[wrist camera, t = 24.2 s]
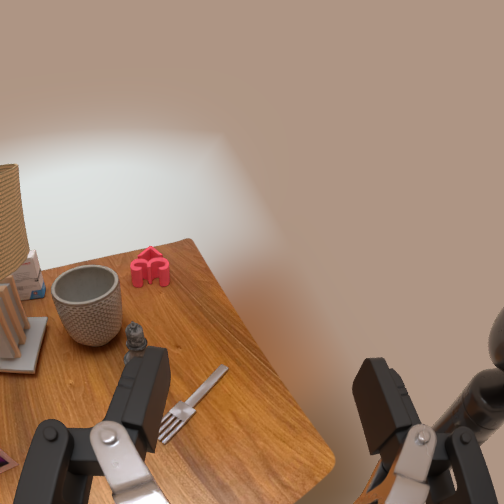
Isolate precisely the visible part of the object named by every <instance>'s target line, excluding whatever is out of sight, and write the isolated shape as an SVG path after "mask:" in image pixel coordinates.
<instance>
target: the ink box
mask: <svg viewBox="0 0 504 504" xmlns="http://www.w3.org/2000/svg"><path fill="white" fill-rule="evenodd" d="M11 275H13V278H14V281H15V284H16V287H17V291H18V294H19V297H20V300H29V299H37V298H44V295H45V290H46V287H45V284H44V280H43V277H42V273H41V269H40V265H39V262H38V258H37V254H36V250H30V251H29V254H28V257H27V260H26V261H25V262H24V263H23V264H22V265H21V266H20V267H19V268H18V269H17V270H16V271H15V272H14V273H12V274H11Z"/></svg>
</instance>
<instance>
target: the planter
mask: <svg viewBox="0 0 504 504" xmlns="http://www.w3.org/2000/svg"><path fill="white" fill-rule="evenodd" d="M51 294H52V298H53V301H54V304H55V306H56V309H57V312H58V314H59V317H60V319H61V321H62V323H63V325H64V327H65V329H66V331H67V332H68V334H69V335H70V336H71V338H73V339H74V340H75V341H76V342H78V343H80V344H83V345H88V346H93V347H99V346H103V345H105V344H107V343H108V342H109V341H110V340H111V339H113V338H114V337H115V336H116V335H117V333H118V332H119V330H120V328H121V325H122V299H121V288H120V281H119V278H118V275H117V273H116V272H115V271H113V270H112V269H110V268H108V267H105V266H101V265H84V266H79V267H75V268H72V269H70V270H68V271H66V272H64V273H62V274H61V275H60V276H59V277H57V278H56V280H55V281H54V282H53V284H52V287H51Z"/></svg>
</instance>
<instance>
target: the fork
mask: <svg viewBox="0 0 504 504" xmlns="http://www.w3.org/2000/svg"><path fill="white" fill-rule="evenodd" d="M228 370H229V368H228V367H226V366H224V365H222V364H221V365H220V366H219V367H218V368H217V369H216V370H215V371H214V372H213V373H212V375H211V376H210V377H209V378H208V379H207V380H206V381H205V382H204V383H203V384H202V385H201V386H200V387H199V388H198V389H197V390H196V391H195V392H194V393H193V394H192V395H191V396H190V397H189V398H188V399H187V400H186V401H185V402H182V401H179V402H178V403H177V404H176V405H175V406H174V407H173V408H172V409H171V410H170V411H169V412H168V413H167V414H166V415H165V416H164V417H163V418H162V421H161V425H162V424H163V423H164V422H165V421H166V420H167V419H168V418H169V417H170V416H171V415H172V417H171V418H170V419H169V420H168V421H167V422H166V423H165V424H164V425H163V426H162V427H161V428H160V430H159V434H158V436H159V435H160V434H161V433H162V432H163V431H164V430H165V429H166V428H167V427H168V426H169V425H170V424H171V423H172V422H173V421H174V420H175V419H176V420H175V421H174V422H173V423H172V424H171V425H170V426H169V427H168V428H167V429H166V430H165V431H164V432H163V433H162V434H161V435H160V436H159V437H158V440H159V441H161V440H162V439H163V438H164V437H165V436H166V435H167V434H168V433H169V432H170V431H171V430H172V429H173V428H174V427H175V426H176V425H177V424H178V423H179V422H180V421H181V423H180V424H179V425H178V426H177V427H176V428H175V429H174V430H173V431H172V432H171V433H170V434H169V435H168V436H167V437H166V438H165V439H164V440H163V441H162V443H163V444H164V445H166V444H167V443H168V442H169V440H170V439H171V438H172V437H173V436H174V435H175V434H176V433H177V432H178V431H179V430H180V429H181V428H182V427H183V426H184V425H185V424H186V423H187V422H188V421H189V420H190V418H191V417H192V416H193V415H194V414H195V413H196V410H195V409H193V408H194V407H195V406H196V405H197V404H198V403H199V402H200V401H201V400H202V399H203V398H204V397H205V396H206V394H207V393H208V392H209V391H210V390H211V389H212V388H213V387H214V386H215V385H216V383H217V382H218V381H219V380H220V379H221V378H222V377H223V376H224V375H225V373H226V372H227V371H228ZM161 425H160V426H161Z"/></svg>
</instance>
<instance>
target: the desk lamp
mask: <svg viewBox="0 0 504 504" xmlns="http://www.w3.org/2000/svg"><path fill="white" fill-rule="evenodd" d="M29 251H30V249H29V244H28V239H27V234H26V228H25V222H24V217H23V209H22V201H21V193H20V183H19V168H18V165H17V164H6V165H0V372H9V373H28V374H35V369H36V365H37V360H38V356H39V352H40V348H41V344H42V340H43V336H44V333H45V329H46V328H45V327H46V324H47V320H48V317H27V316H26V313H25V311H24V308H23V305H22V302H21V300H20V297H19V294H18V291H17V287H16V284H15V281H14V278H13V275H11V274H12V273H14V272H15V271H16V270H17V269H18V268H19V267H20V266H21V265H22V264H23V263H24V262H25V261H26V260H27V257H28V254H29Z"/></svg>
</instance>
